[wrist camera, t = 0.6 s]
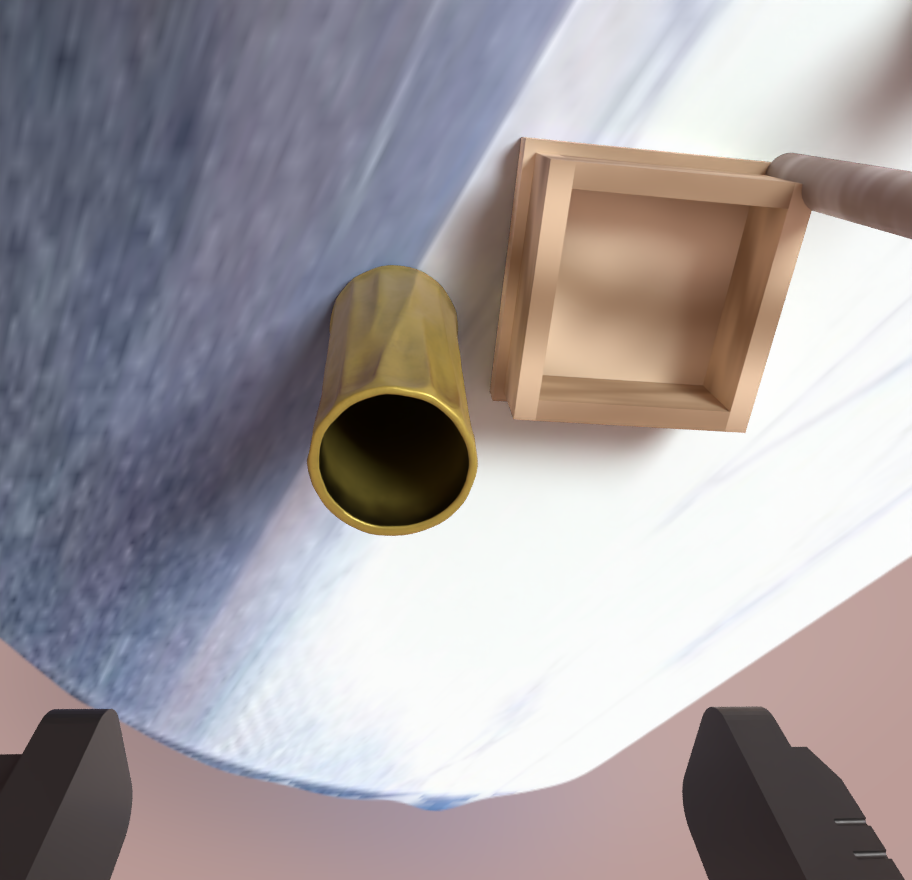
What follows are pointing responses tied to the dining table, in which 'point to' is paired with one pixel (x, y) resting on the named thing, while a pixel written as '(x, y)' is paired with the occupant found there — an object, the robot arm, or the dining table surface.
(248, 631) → the dining table surface
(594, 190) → the stand
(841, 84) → the dining table surface
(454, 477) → the vase
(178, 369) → the dining table surface
